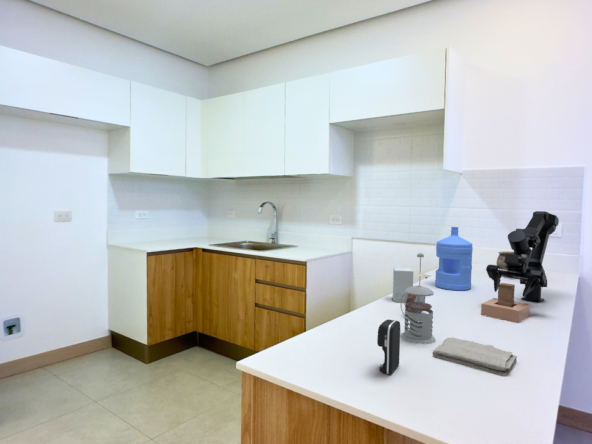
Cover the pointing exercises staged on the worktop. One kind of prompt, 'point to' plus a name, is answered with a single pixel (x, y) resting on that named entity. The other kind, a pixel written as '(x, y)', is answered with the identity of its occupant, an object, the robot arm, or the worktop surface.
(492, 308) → the socket
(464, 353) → the washcloth
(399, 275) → the supplement box
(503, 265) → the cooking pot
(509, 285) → the peg
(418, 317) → the french press
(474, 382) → the worktop surface
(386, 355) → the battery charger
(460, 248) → the water jug
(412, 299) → the tin
